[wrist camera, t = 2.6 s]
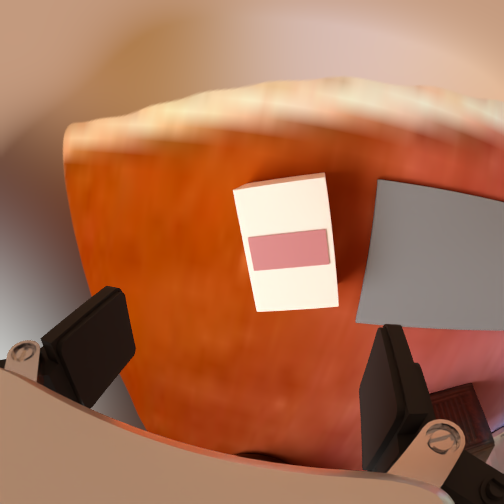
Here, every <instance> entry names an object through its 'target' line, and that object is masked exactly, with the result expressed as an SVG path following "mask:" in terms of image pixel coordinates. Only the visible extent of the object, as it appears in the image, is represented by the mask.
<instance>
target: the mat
mask: <svg viewBox="0 0 504 504" xmlns="http://www.w3.org/2000/svg"><path fill="white" fill-rule="evenodd" d="M356 323H365V324H376V325H384V324H398V325H401V326H403V327H418V328H436V329H459V330H504V202H501V201H497V200H493V199H488V198H484V197H479V196H474V195H470V194H465V193H460V192H455V191H450V190H444V189H439V188H433V187H427V186H421V185H415V184H409V183H402V182H396V181H389V180H381V179H378V181H377V191H376V200H375V209H374V217H373V225H372V232H371V239H370V246H369V252H368V258H367V264H366V270H365V276H364V281H363V286H362V291H361V297H360V301H359V306H358V311H357V316H356Z"/></svg>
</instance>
